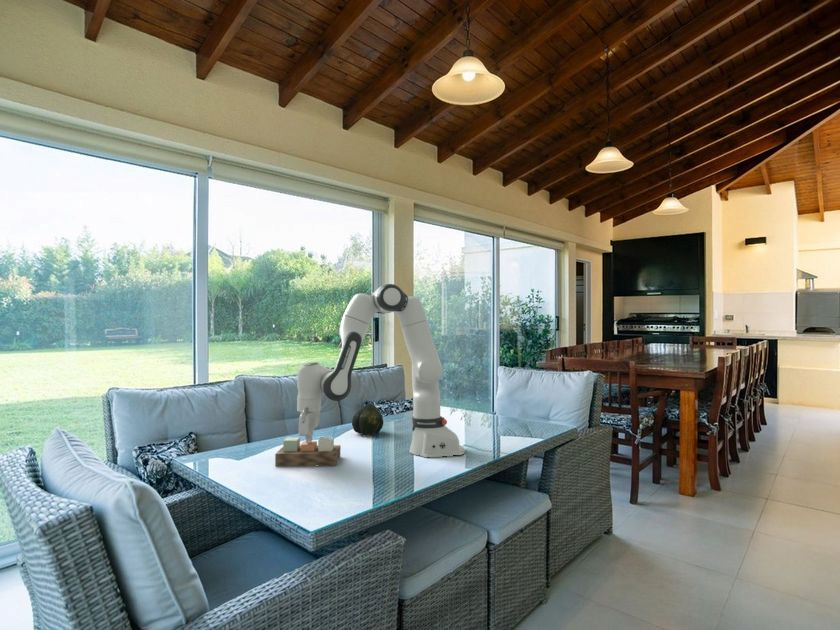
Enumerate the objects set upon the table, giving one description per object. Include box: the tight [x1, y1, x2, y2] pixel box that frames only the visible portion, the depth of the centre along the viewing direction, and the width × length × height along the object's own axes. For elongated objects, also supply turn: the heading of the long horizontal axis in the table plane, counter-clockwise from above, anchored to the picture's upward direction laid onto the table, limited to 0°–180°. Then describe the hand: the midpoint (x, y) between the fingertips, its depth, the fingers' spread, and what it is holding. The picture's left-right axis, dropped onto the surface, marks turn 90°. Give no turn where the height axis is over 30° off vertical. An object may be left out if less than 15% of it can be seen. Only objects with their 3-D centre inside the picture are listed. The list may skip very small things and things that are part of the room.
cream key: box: [317, 436, 335, 451], centre depth 186 cm, size 5×5×5 cm
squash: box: [351, 402, 384, 437], centre depth 231 cm, size 14×15×15 cm
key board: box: [274, 444, 341, 467], centre depth 186 cm, size 22×12×4 cm, turn 91°
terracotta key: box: [300, 440, 318, 451], centre depth 186 cm, size 5×5×5 cm
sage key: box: [282, 436, 301, 452], centre depth 186 cm, size 5×5×5 cm
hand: (309, 442), depth 186 cm, fingers closed
